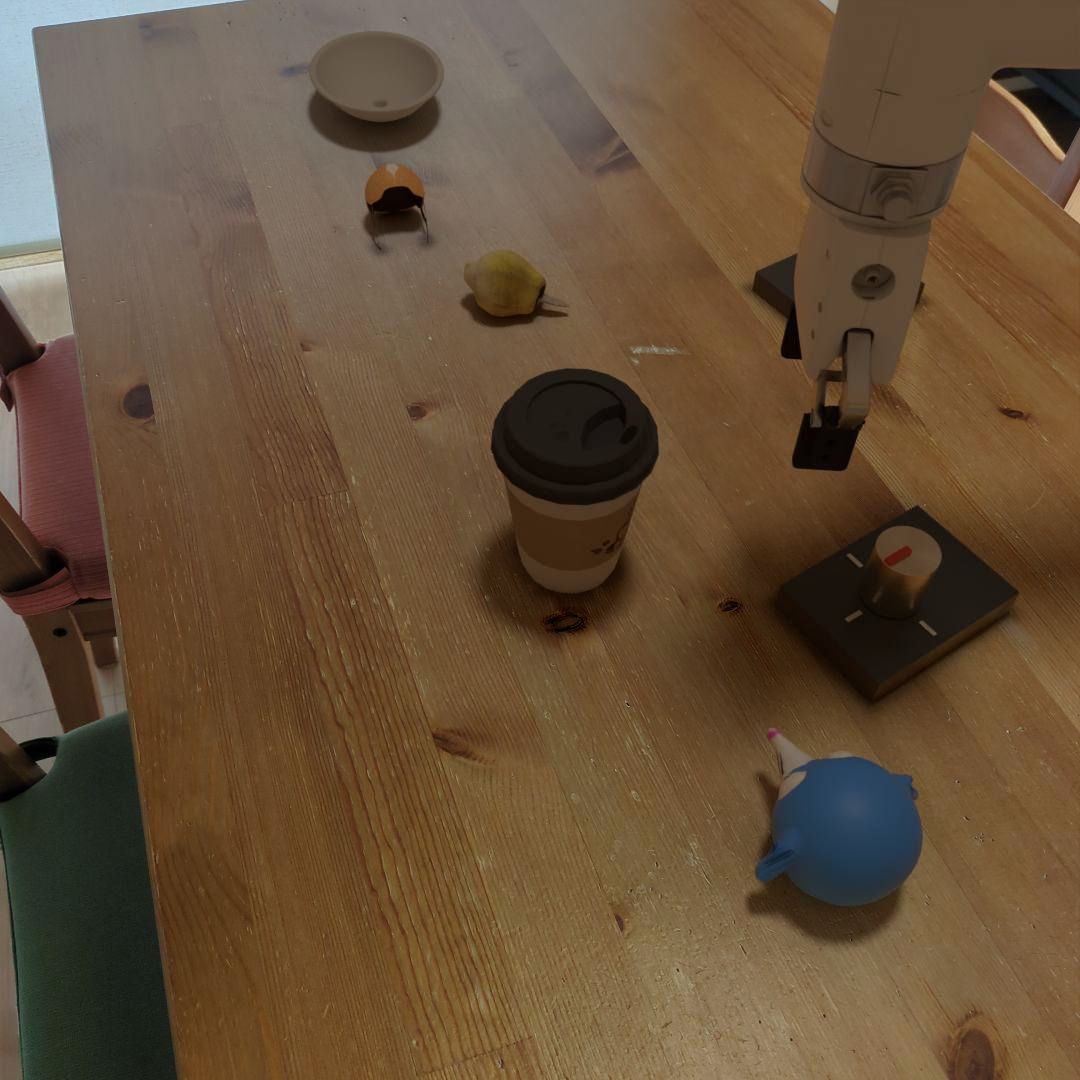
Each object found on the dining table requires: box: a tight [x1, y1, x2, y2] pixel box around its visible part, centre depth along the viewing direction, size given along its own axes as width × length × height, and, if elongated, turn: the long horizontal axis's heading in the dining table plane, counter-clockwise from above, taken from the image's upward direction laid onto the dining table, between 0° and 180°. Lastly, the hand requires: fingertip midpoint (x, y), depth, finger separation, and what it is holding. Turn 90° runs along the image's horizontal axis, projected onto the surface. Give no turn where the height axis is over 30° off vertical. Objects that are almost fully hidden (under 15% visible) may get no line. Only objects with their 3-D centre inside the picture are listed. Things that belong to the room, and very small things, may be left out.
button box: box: [751, 252, 926, 319], centre depth 103 cm, size 12×10×4 cm
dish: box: [308, 30, 445, 123], centre depth 123 cm, size 18×14×5 cm
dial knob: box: [859, 526, 942, 619], centre depth 77 cm, size 4×4×5 cm
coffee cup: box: [490, 367, 660, 594], centre depth 79 cm, size 11×11×15 cm
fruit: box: [463, 249, 571, 318], centre depth 101 cm, size 6×6×10 cm
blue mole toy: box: [754, 727, 924, 907], centre depth 67 cm, size 12×12×8 cm
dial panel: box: [774, 504, 1020, 703], centre depth 81 cm, size 14×10×3 cm
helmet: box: [364, 163, 429, 250], centre depth 109 cm, size 6×7×8 cm
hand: (811, 409), depth 69 cm, fingers open, 9 cm apart
